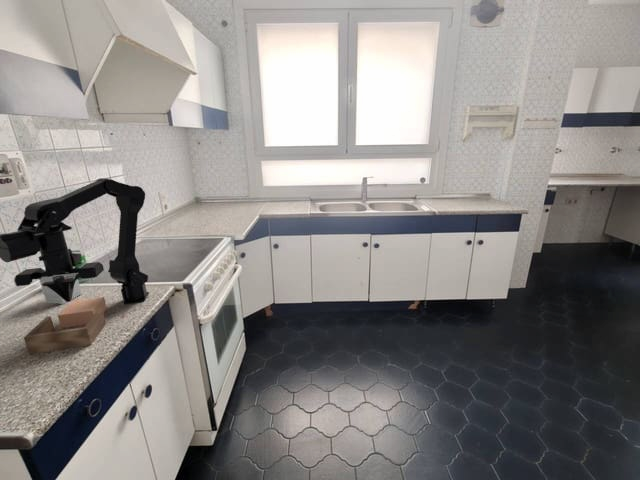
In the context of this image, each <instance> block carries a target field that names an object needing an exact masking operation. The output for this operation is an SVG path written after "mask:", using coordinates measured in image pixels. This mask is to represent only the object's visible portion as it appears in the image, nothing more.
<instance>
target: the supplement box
mask: <svg viewBox="0 0 640 480" xmlns="http://www.w3.org/2000/svg"><path fill="white" fill-rule="evenodd" d="M41 268H42V269H43V270H44V271H45V270H46V269H45V266H42V267H41ZM73 268H75V267H73ZM67 273H68V272H67ZM38 280H39V283H40V285H41V286H40V287H41V289H42V291H43V292H42V293H43V295H44V298H45V302H46V303H50V304H56V303H60V304H59V305H64V304H66V303H67V302H66V301H65V300H64V299H63V298H62V297H60V296H59V295H58V294H57V293H56V292H54V291H53V290H51V289H50V288H49V287H47V286H43V285H42V284H43V283H44V282H43V279H38ZM81 294H82V295H83V293H82V288H81V285H80V283H79V281H78V279H77V280H76V281H75V284H74V289H73V295H72V300H73V298H74V299H76V298H78V297H80V296H82V295H81ZM79 295H80V296H79ZM77 296H78V297H77ZM75 297H76V298H75Z"/></svg>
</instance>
